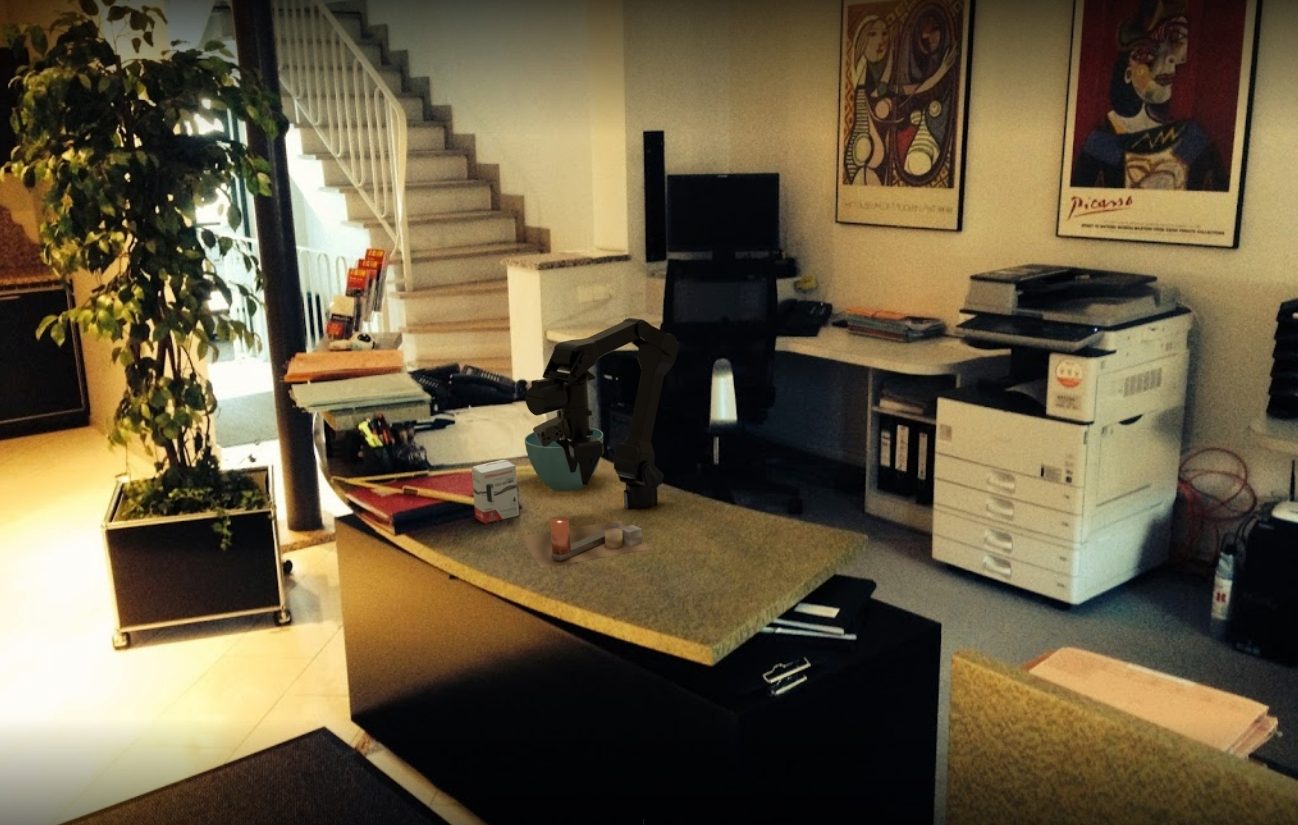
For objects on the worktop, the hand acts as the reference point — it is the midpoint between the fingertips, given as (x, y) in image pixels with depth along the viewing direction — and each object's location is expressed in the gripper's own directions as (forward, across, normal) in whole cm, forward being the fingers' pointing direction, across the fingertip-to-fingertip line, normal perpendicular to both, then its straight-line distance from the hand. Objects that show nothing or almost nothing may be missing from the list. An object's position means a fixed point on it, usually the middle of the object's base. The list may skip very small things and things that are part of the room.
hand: (578, 478), depth 227 cm
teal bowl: (+12, -31, +5) cm, 34 cm away
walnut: (+11, +12, +3) cm, 17 cm away
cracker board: (+12, +8, -2) cm, 15 cm away
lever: (+11, +11, -3) cm, 16 cm away
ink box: (+12, -18, -14) cm, 26 cm away
